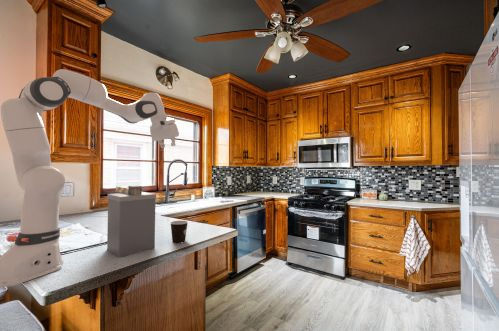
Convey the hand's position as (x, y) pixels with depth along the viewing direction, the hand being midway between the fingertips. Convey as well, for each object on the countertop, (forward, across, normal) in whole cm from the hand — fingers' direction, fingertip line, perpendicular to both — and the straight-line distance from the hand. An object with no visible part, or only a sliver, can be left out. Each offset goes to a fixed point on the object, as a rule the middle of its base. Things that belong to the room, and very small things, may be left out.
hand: (168, 146), depth 137 cm
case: (+39, +2, -40) cm, 56 cm away
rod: (+15, -2, -30) cm, 34 cm away
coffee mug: (+46, +11, -22) cm, 53 cm away
